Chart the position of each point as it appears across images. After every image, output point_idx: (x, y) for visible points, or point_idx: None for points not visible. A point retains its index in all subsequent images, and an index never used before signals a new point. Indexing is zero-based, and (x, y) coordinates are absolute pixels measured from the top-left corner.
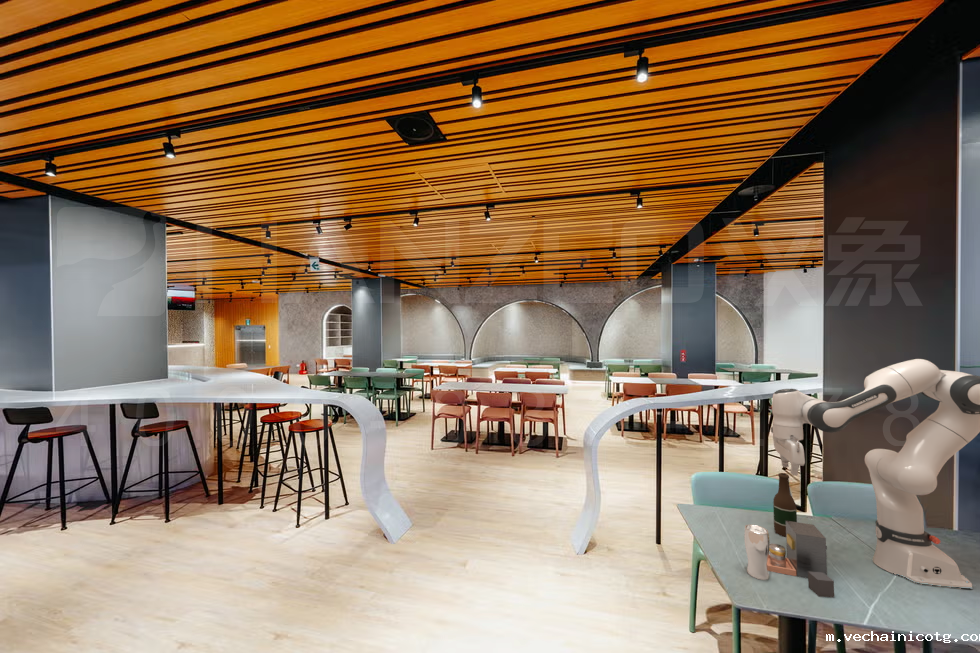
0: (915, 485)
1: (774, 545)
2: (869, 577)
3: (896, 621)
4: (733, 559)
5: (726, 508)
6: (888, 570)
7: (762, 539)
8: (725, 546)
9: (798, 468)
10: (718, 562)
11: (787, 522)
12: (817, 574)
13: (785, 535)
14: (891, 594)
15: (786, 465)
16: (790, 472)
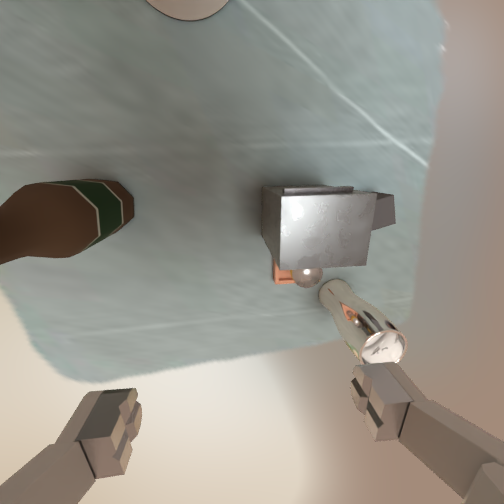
0: None
1: (303, 278)
2: (272, 79)
3: (423, 111)
4: (294, 321)
5: (20, 313)
6: (224, 2)
7: (398, 334)
8: (249, 329)
9: (479, 428)
10: (313, 341)
11: (292, 268)
12: (375, 217)
13: (133, 211)
14: (333, 65)
15: (130, 415)
16: (355, 404)
